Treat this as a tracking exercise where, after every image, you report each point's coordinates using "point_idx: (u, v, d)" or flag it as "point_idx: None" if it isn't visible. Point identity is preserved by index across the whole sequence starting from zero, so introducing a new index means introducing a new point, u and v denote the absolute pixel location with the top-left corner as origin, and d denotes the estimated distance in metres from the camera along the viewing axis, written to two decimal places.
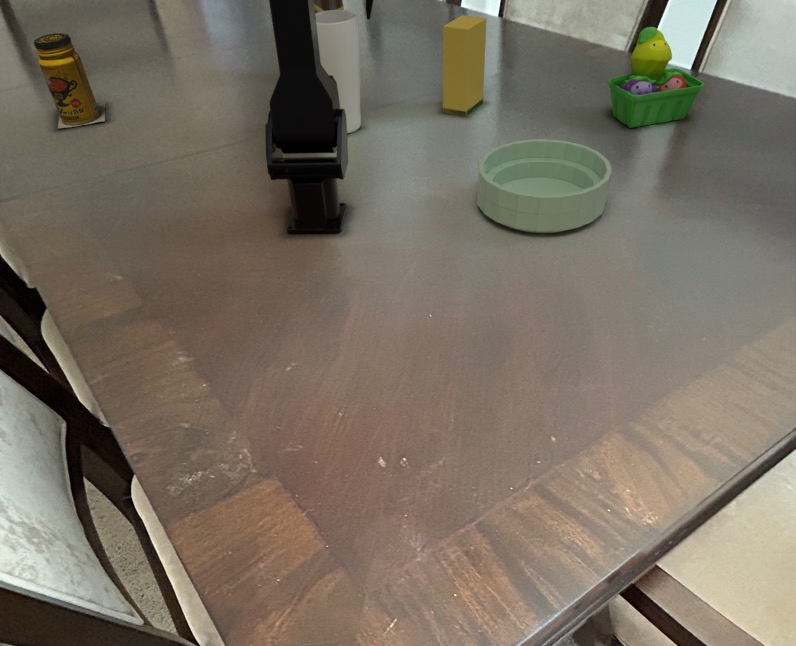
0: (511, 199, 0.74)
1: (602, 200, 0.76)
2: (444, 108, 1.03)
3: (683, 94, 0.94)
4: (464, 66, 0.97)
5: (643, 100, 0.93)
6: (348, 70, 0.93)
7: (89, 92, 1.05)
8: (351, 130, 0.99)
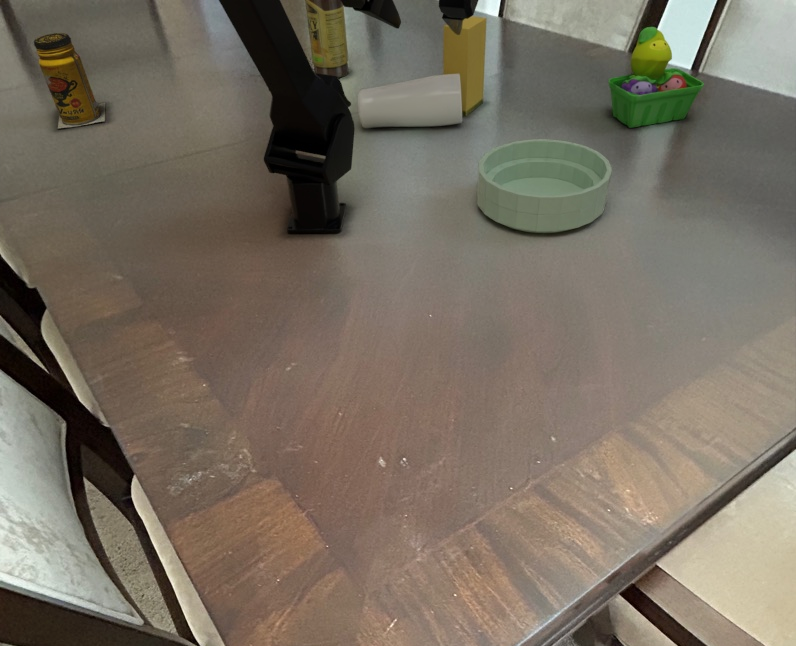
0: (511, 199, 0.74)
1: (602, 200, 0.76)
2: None
3: (683, 94, 0.94)
4: (464, 66, 0.97)
5: (643, 100, 0.93)
6: (420, 121, 0.98)
7: (89, 92, 1.05)
8: (363, 123, 0.98)
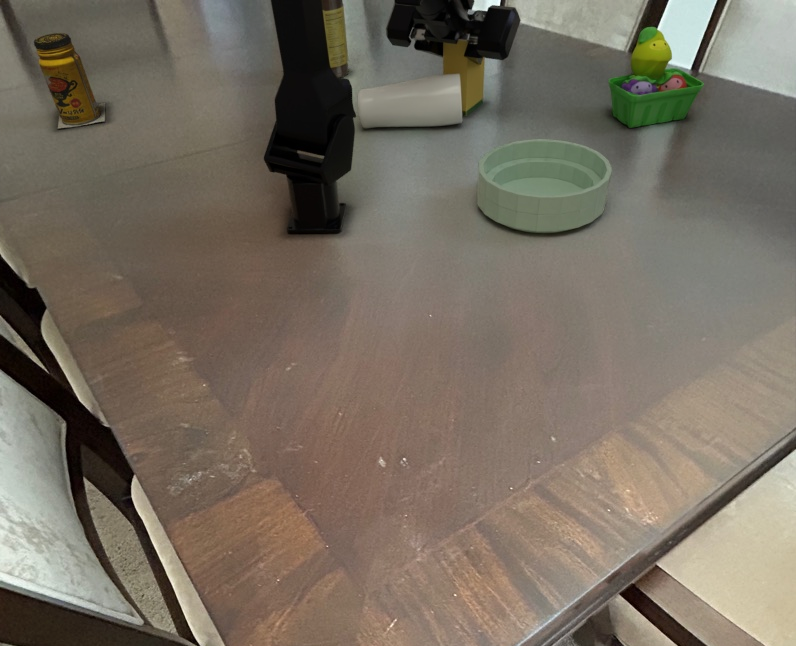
0: (511, 199, 0.74)
1: (602, 200, 0.76)
2: None
3: (683, 94, 0.94)
4: (464, 66, 0.97)
5: (643, 100, 0.93)
6: (420, 121, 0.98)
7: (89, 92, 1.05)
8: (363, 123, 0.98)
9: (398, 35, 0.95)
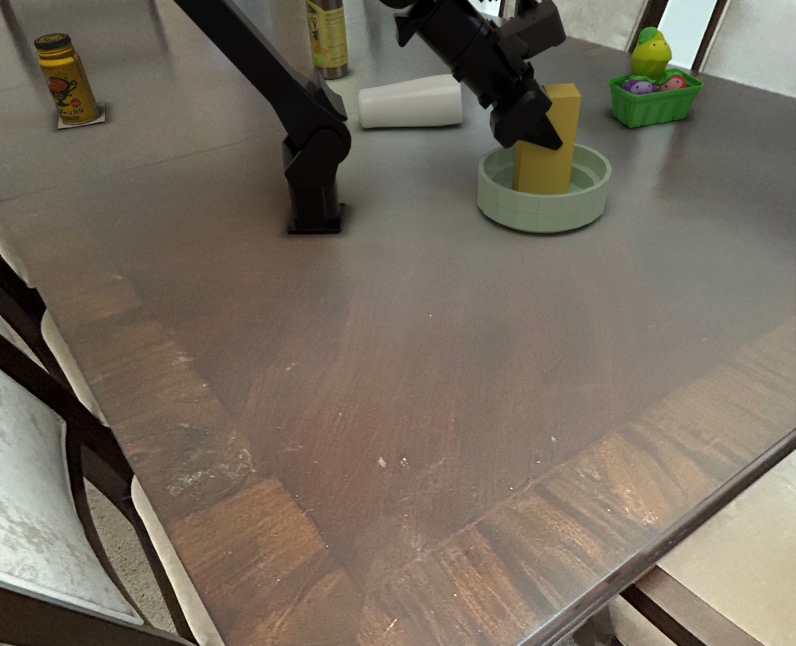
0: (511, 199, 0.74)
1: (602, 200, 0.76)
2: (512, 183, 0.83)
3: (683, 94, 0.94)
4: (521, 142, 0.76)
5: (643, 100, 0.93)
6: (420, 121, 0.98)
7: (89, 92, 1.05)
8: (363, 123, 0.98)
9: None
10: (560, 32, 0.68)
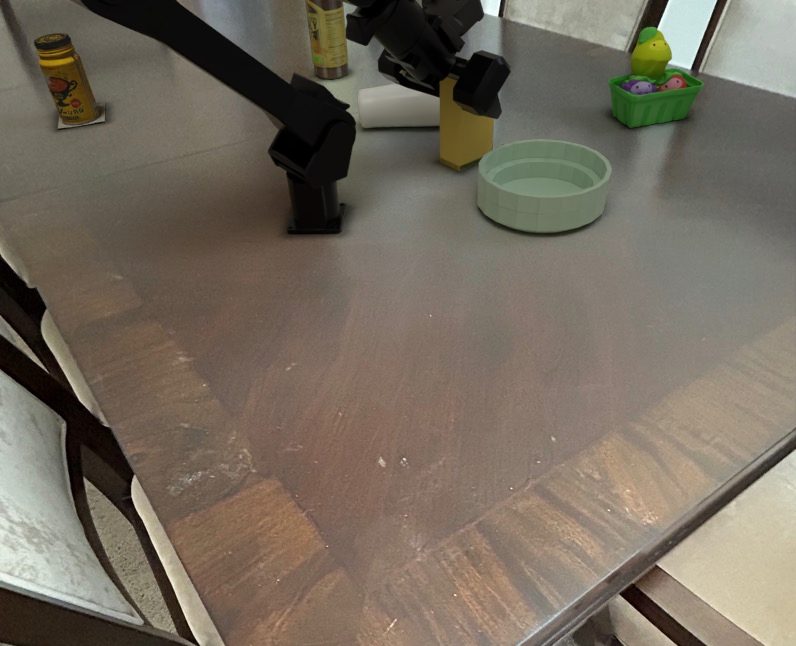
0: (511, 199, 0.74)
1: (602, 200, 0.76)
2: (440, 158, 0.91)
3: (683, 94, 0.94)
4: (458, 116, 0.84)
5: (643, 100, 0.93)
6: (420, 121, 0.98)
7: (89, 92, 1.05)
8: (363, 123, 0.98)
9: (387, 70, 0.84)
10: (481, 7, 0.77)
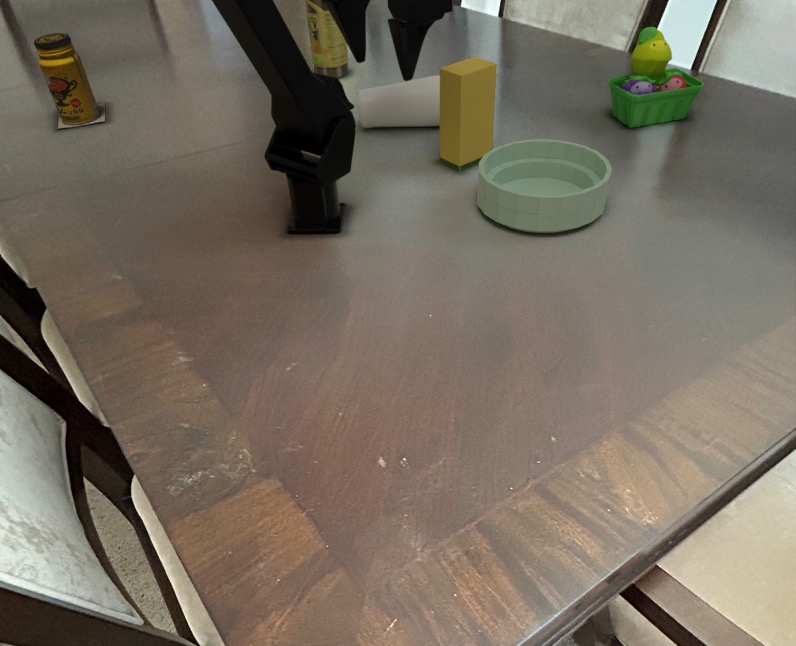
0: (511, 199, 0.74)
1: (602, 200, 0.76)
2: (440, 158, 0.91)
3: (683, 94, 0.94)
4: (458, 116, 0.84)
5: (643, 100, 0.93)
6: (420, 121, 0.98)
7: (89, 92, 1.05)
8: (363, 123, 0.98)
9: None
10: None
